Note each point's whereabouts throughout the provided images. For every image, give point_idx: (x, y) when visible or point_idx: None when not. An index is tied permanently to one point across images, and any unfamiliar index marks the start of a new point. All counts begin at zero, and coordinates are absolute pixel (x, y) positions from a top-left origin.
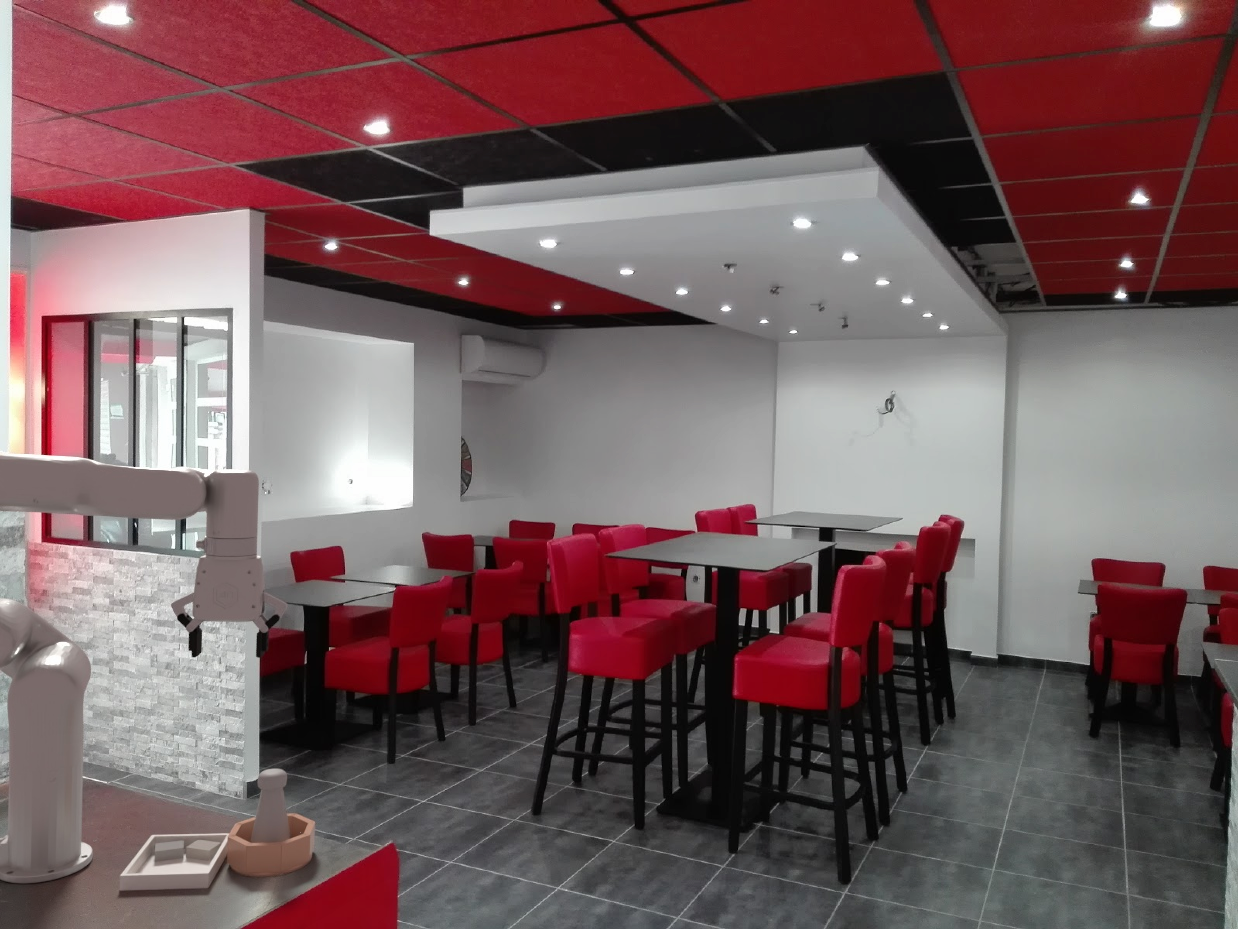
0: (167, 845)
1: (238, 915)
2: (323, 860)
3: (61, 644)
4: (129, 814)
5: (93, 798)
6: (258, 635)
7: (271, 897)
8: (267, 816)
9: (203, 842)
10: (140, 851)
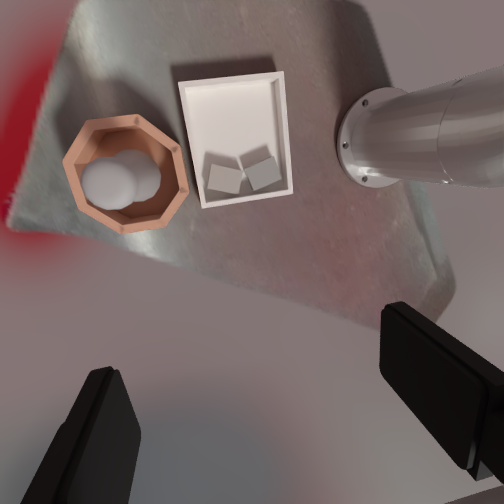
0: (266, 174)
1: (103, 4)
2: None
3: None
4: (342, 273)
5: None
6: (48, 489)
7: (85, 62)
8: (121, 157)
9: (228, 186)
10: (287, 145)
